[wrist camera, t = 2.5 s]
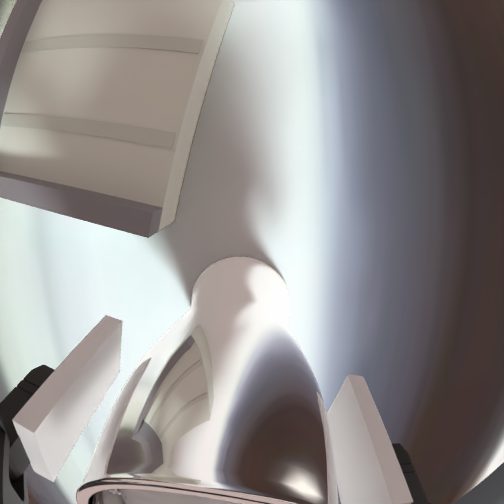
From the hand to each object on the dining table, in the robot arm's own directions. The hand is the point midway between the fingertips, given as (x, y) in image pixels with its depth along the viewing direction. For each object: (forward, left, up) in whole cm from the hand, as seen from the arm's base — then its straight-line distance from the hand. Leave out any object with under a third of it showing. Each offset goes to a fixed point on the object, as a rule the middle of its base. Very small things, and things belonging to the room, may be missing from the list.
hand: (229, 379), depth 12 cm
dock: (-12, +11, -8) cm, 18 cm away
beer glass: (0, 0, -8) cm, 8 cm away
